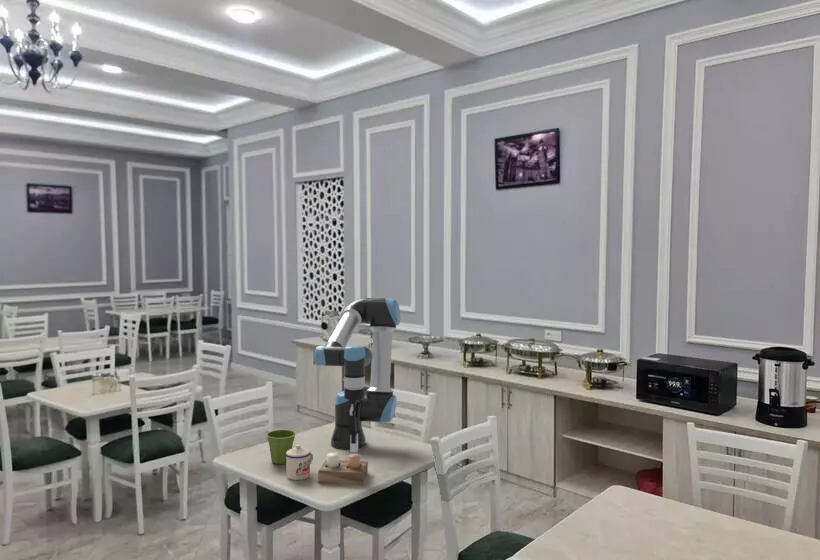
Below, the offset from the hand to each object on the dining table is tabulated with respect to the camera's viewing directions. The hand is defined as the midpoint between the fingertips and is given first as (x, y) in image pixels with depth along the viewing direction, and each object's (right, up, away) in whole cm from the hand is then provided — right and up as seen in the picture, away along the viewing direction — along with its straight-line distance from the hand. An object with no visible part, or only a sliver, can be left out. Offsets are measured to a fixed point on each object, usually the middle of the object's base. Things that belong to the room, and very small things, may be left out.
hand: (354, 451), depth 212 cm
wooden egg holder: (-4, -10, +1) cm, 11 cm away
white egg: (-8, -8, +1) cm, 11 cm away
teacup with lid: (-20, -10, +4) cm, 23 cm away
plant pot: (-31, -10, +18) cm, 37 cm away
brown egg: (0, -8, 0) cm, 8 cm away
